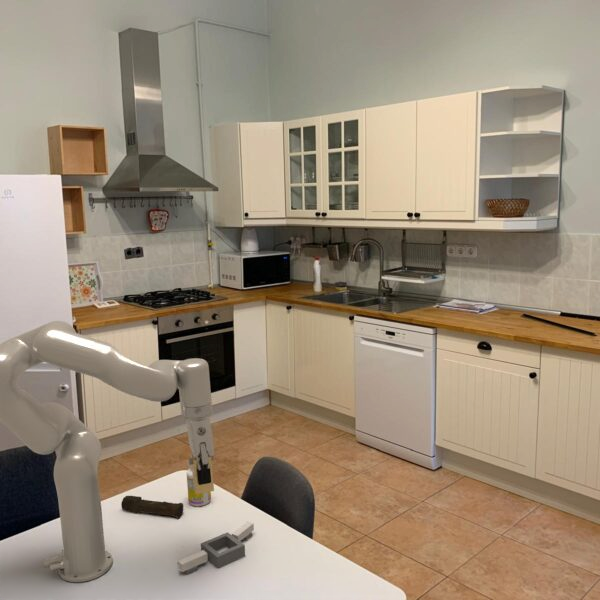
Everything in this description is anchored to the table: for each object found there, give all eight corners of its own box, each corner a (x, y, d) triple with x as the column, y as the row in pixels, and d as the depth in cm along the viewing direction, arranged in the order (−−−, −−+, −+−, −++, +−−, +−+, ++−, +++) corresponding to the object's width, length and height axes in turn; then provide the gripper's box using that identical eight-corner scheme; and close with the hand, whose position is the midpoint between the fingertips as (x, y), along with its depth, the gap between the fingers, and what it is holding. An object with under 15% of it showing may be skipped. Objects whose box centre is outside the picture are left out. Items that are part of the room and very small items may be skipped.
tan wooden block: (217, 490, 157) (214, 456, 155) (193, 495, 155) (190, 460, 153) (213, 482, 161) (211, 449, 159) (190, 487, 159) (187, 453, 157)
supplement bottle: (203, 494, 192) (201, 454, 189) (215, 501, 187) (213, 461, 184) (184, 501, 187) (181, 460, 185) (195, 509, 182) (193, 467, 180)
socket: (269, 544, 163) (269, 534, 163) (188, 581, 149) (188, 570, 148) (249, 530, 170) (249, 520, 170) (170, 564, 156) (169, 553, 155)
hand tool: (185, 513, 181) (184, 498, 180) (178, 520, 177) (177, 505, 176) (127, 505, 186) (126, 491, 186) (119, 512, 183) (118, 497, 182)
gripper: (218, 418, 147) (224, 490, 151) (205, 396, 163) (211, 463, 166) (186, 423, 145) (193, 497, 148) (176, 401, 161) (182, 468, 164)
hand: (202, 478), depth 157 cm, fingers closed on tan wooden block, 4 cm apart
